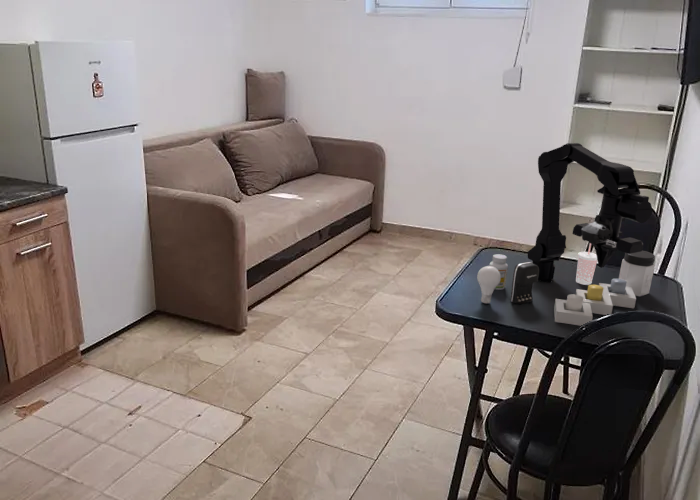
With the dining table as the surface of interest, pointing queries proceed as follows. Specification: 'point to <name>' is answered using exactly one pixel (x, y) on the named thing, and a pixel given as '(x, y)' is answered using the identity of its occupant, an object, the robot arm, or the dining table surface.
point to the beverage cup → (586, 267)
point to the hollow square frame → (597, 303)
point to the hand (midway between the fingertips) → (601, 267)
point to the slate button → (618, 286)
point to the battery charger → (524, 282)
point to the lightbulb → (488, 282)
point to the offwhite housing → (572, 313)
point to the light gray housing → (620, 296)
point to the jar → (638, 271)
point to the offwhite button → (574, 302)
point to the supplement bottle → (500, 269)
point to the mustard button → (594, 292)
